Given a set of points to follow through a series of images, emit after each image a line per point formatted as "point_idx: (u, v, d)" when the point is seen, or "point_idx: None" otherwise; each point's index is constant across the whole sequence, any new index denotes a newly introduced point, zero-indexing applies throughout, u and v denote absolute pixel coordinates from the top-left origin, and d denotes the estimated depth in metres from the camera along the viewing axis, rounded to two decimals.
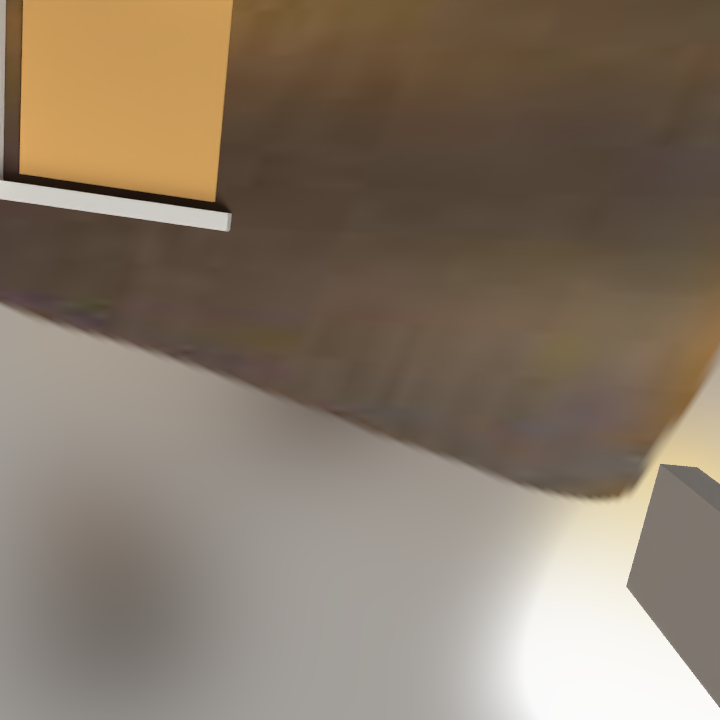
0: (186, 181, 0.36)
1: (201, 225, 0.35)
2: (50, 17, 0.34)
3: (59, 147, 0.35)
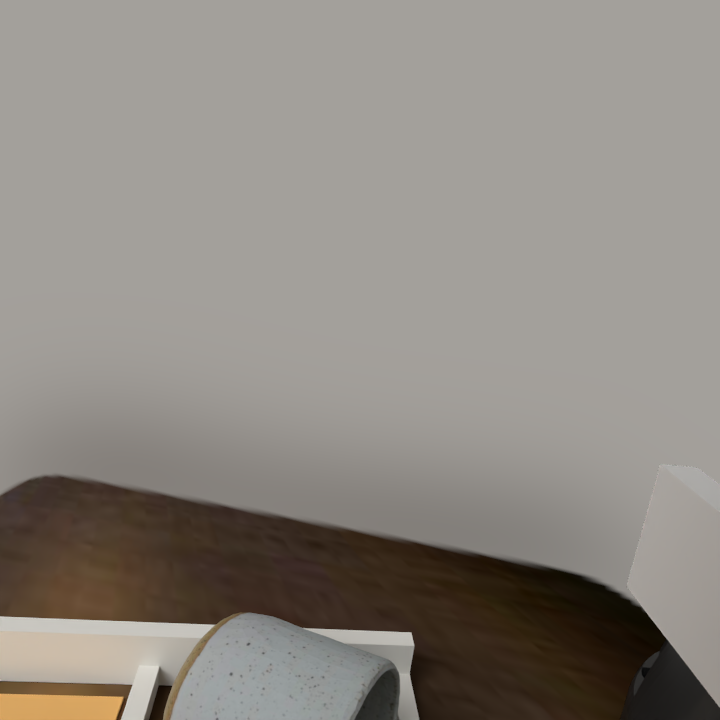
0: None
1: None
2: None
3: None
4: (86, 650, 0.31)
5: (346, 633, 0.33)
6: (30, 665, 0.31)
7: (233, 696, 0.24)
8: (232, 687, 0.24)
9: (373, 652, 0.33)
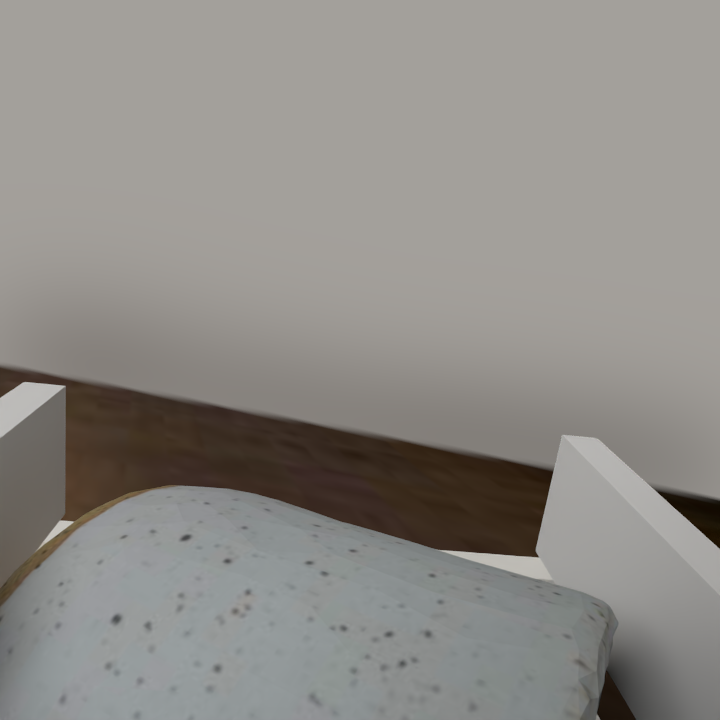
0: None
1: None
2: None
3: None
4: None
5: None
6: None
7: (113, 692, 0.07)
8: (112, 663, 0.07)
9: None
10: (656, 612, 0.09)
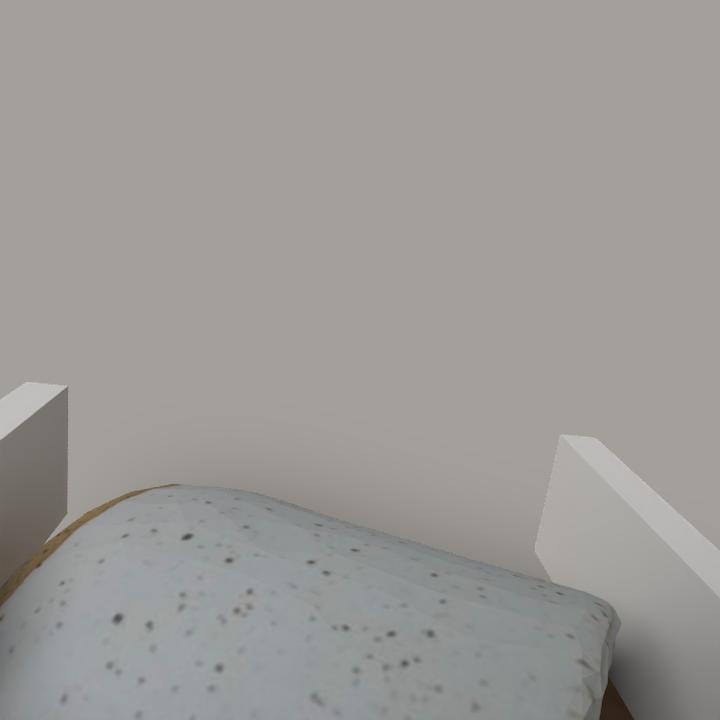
0: None
1: None
2: None
3: None
4: None
5: None
6: None
7: (115, 692, 0.07)
8: (115, 662, 0.07)
9: None
10: (653, 611, 0.09)
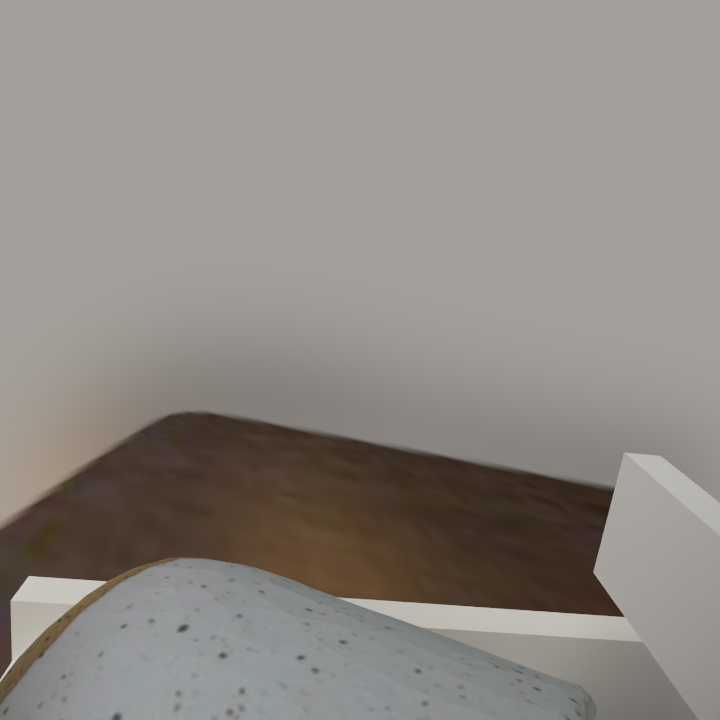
0: None
1: None
2: None
3: None
4: None
5: None
6: None
7: None
8: None
9: None
10: None
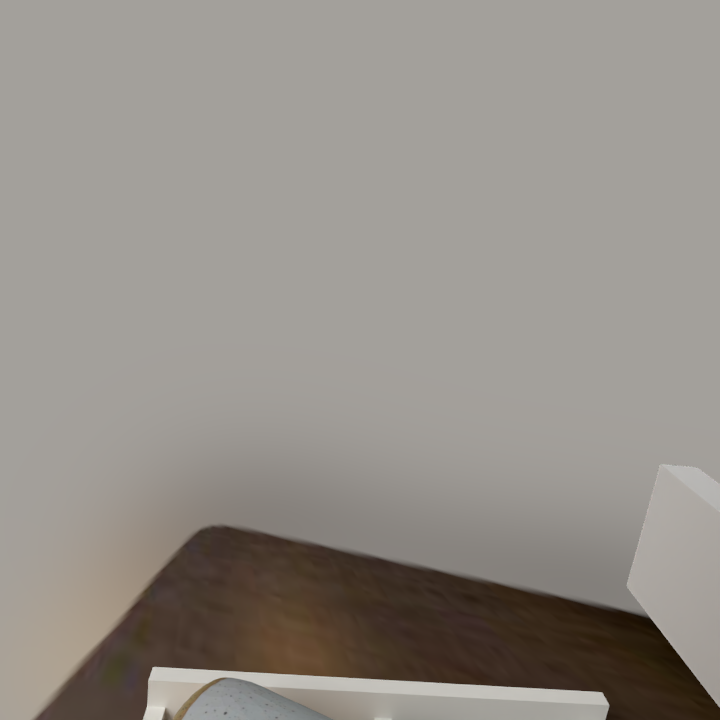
0: None
1: None
2: None
3: None
4: (332, 704, 0.36)
5: (548, 692, 0.38)
6: None
7: None
8: None
9: (573, 710, 0.37)
10: None
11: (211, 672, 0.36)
